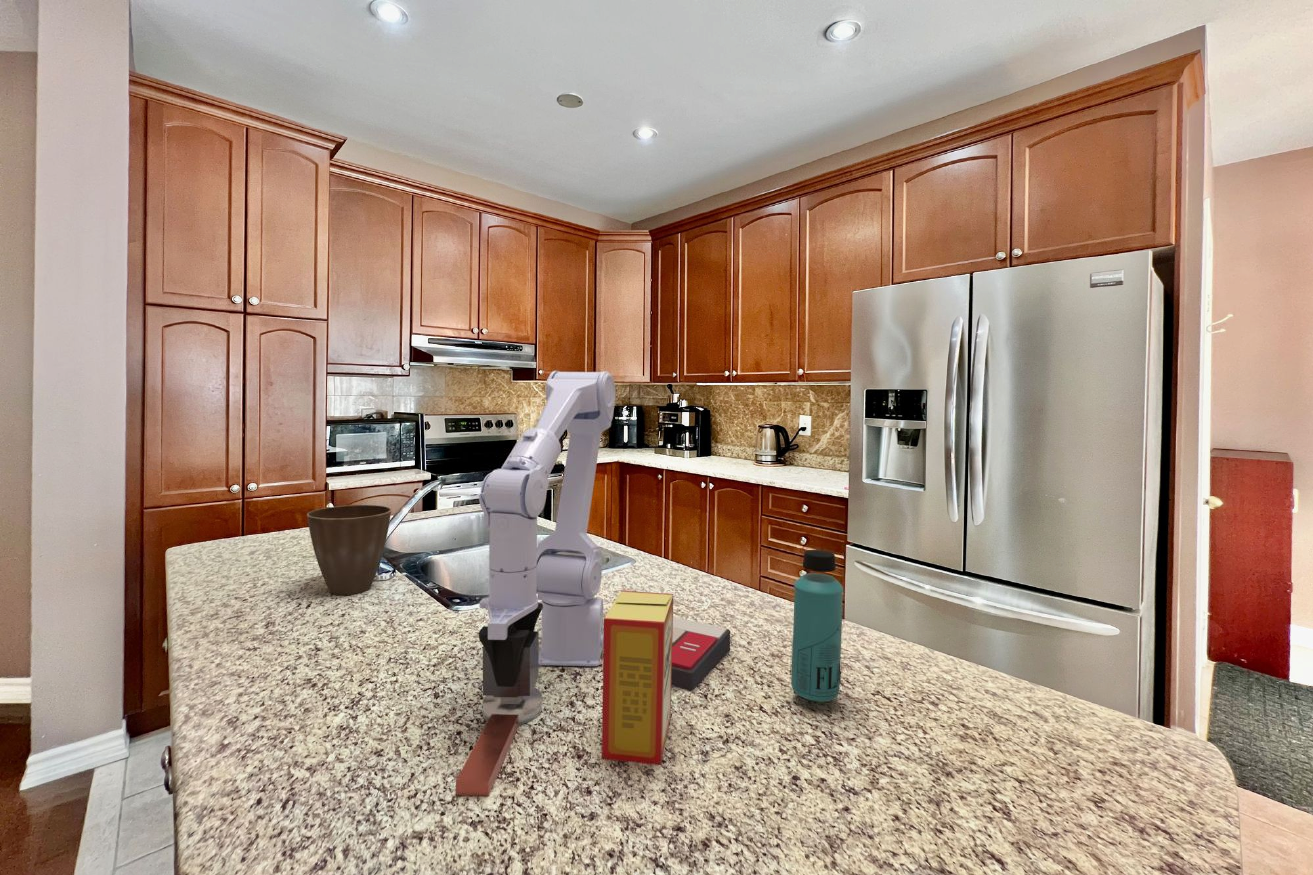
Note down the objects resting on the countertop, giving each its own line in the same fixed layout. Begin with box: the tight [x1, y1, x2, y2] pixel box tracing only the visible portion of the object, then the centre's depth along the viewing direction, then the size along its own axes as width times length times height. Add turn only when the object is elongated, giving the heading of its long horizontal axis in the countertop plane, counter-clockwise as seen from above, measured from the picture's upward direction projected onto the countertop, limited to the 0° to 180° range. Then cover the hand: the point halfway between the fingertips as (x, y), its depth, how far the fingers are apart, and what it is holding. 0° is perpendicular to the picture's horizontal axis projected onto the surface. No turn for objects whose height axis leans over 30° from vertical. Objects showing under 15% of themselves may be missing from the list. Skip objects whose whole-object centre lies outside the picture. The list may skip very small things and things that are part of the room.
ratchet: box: [455, 687, 543, 797], centre depth 66 cm, size 7×19×4 cm, turn 0°
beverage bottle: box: [789, 549, 844, 702], centre depth 75 cm, size 6×7×20 cm
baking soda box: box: [601, 590, 674, 766], centre depth 66 cm, size 10×6×16 cm
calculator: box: [671, 616, 731, 692], centre depth 87 cm, size 11×4×15 cm
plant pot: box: [306, 504, 392, 596], centre depth 115 cm, size 15×15×16 cm
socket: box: [482, 630, 540, 698], centre depth 71 cm, size 6×6×6 cm
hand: (512, 672), depth 71 cm, fingers closed on socket, 6 cm apart
